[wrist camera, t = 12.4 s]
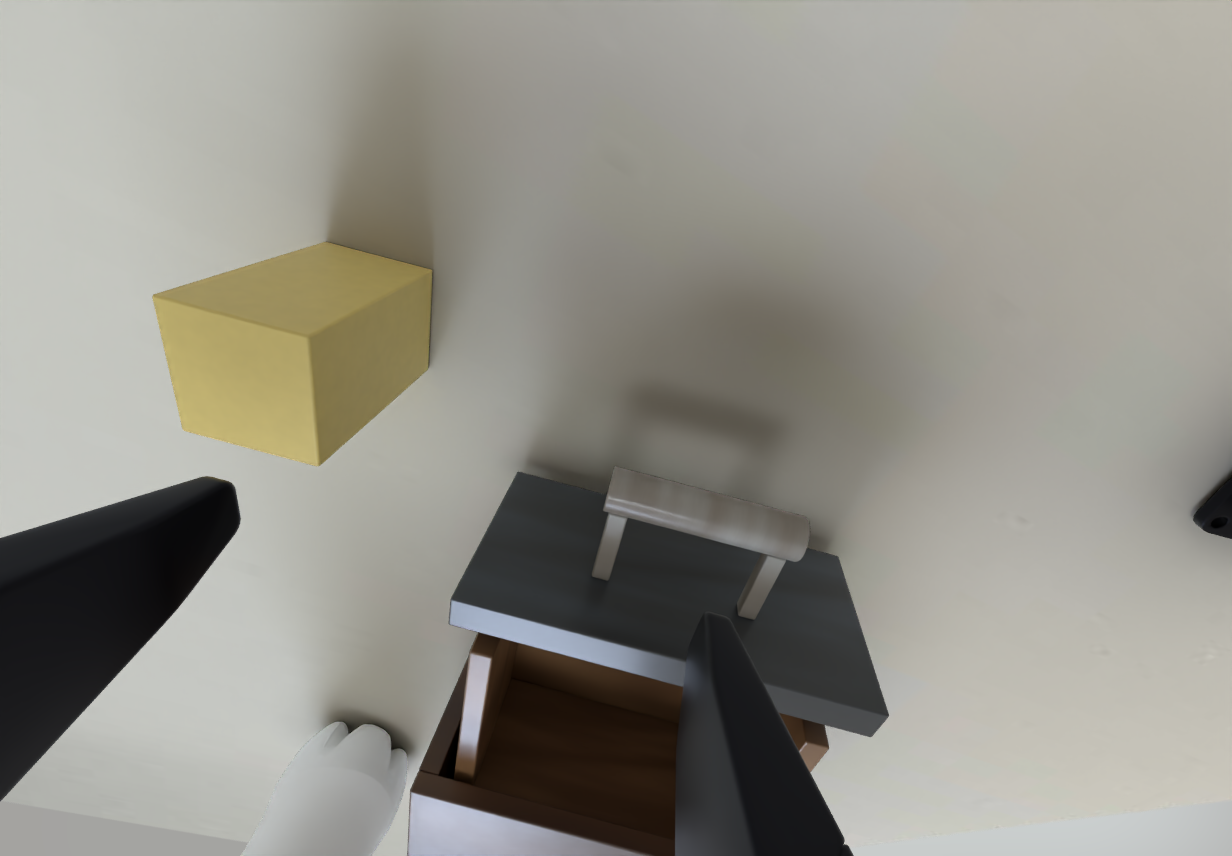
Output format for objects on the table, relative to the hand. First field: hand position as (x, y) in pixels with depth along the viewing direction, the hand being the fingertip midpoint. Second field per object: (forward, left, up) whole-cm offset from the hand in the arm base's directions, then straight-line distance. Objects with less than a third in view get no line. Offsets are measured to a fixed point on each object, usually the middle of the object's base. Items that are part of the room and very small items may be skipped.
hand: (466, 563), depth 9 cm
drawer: (-5, +10, -11) cm, 16 cm away
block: (+8, +1, -12) cm, 14 cm away
